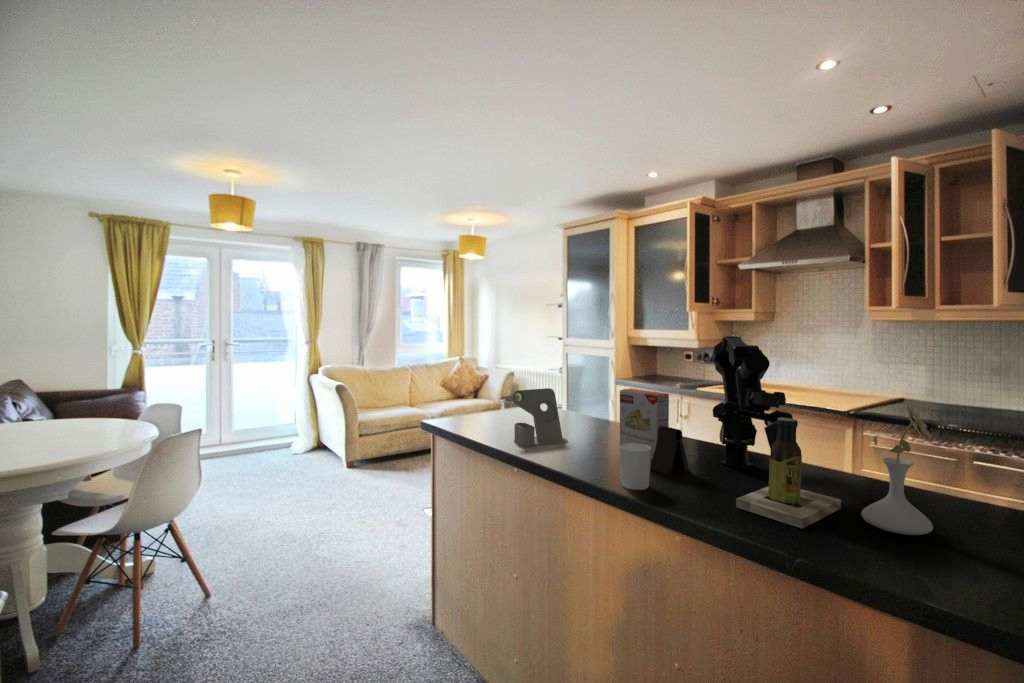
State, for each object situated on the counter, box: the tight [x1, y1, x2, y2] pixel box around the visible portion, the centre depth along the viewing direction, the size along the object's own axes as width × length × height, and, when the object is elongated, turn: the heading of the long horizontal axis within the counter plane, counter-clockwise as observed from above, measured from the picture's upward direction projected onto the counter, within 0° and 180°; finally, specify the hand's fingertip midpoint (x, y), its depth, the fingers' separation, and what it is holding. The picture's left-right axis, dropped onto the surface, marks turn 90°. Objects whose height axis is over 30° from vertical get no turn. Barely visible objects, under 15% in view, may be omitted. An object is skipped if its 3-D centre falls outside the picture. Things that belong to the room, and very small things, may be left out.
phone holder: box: [511, 387, 568, 448], centre depth 171 cm, size 17×10×18 cm, turn 114°
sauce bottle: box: [768, 418, 803, 508], centre depth 109 cm, size 6×6×20 cm
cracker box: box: [619, 388, 670, 466], centre depth 147 cm, size 14×6×21 cm, turn 37°
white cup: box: [618, 443, 651, 491], centre depth 124 cm, size 8×8×10 cm
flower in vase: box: [860, 403, 934, 536], centre depth 98 cm, size 13×11×25 cm
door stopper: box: [650, 426, 690, 476], centre depth 137 cm, size 9×6×12 cm, turn 120°
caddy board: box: [735, 485, 842, 529], centre depth 109 cm, size 18×14×2 cm
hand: (756, 447), depth 120 cm, fingers open, 9 cm apart
